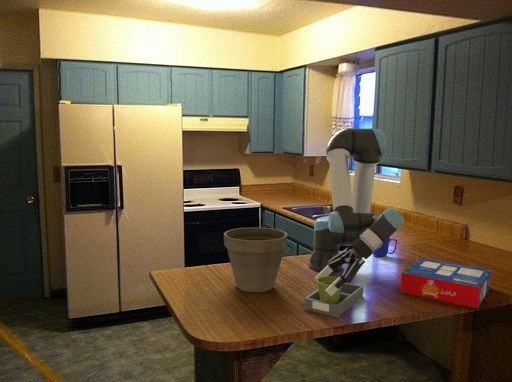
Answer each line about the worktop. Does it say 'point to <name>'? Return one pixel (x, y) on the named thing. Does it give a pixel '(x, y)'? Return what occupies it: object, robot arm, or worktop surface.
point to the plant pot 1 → (255, 256)
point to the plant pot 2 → (323, 285)
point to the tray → (346, 300)
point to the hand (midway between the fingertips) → (322, 286)
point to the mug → (384, 249)
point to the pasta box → (446, 282)
